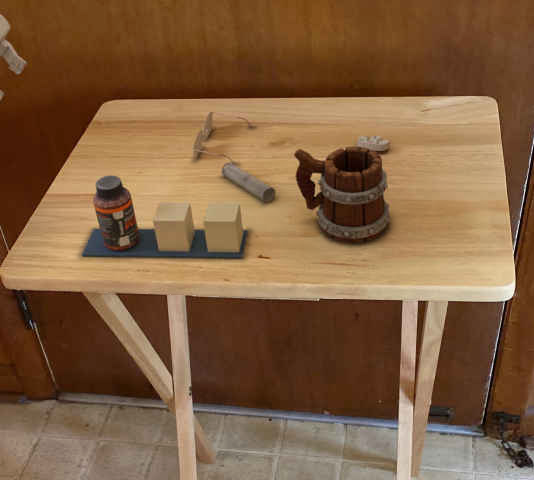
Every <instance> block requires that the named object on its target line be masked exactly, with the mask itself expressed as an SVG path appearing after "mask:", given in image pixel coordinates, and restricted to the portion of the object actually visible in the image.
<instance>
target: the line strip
mask: <svg viewBox="0 0 534 480" xmlns="http://www.w3.org/2000/svg"><path fill="white" fill-rule="evenodd" d="M138 231H139V240H138V242H137V243H136V244H135V245H134V246H132V247H131V248H128V249H125V250H112V249H109V248H107V247H106V246H105V245H104V242H103V239H102V235H101V231H100V228H93V229H92V232H91V234H90V236H89V238H88V240H87V243H86V245H85V247H84V249H83V252H82V253H81V256H82V257H92V258H93V257H95V258H96V257H97V258H98V257H99V258H101V257H103V258H162V259H163V258H164V259H165V258H166V259H167V258H169V259H179V258H181V259H237V260H238V259H240V260H241V259H243V256H244V250H245V245H246V243H247V242H246V241H247V238H248V232H249V231H248V229H243V237H242V242H241V246H240V250H239V252H208V249H207V242H206V236H205V230H204V229H195V235H194V238H193V242H192V245H191V248H190V251H189V252H178V251H159V248H158V243H157V239H156V234H155V229H154V228H138Z"/></svg>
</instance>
